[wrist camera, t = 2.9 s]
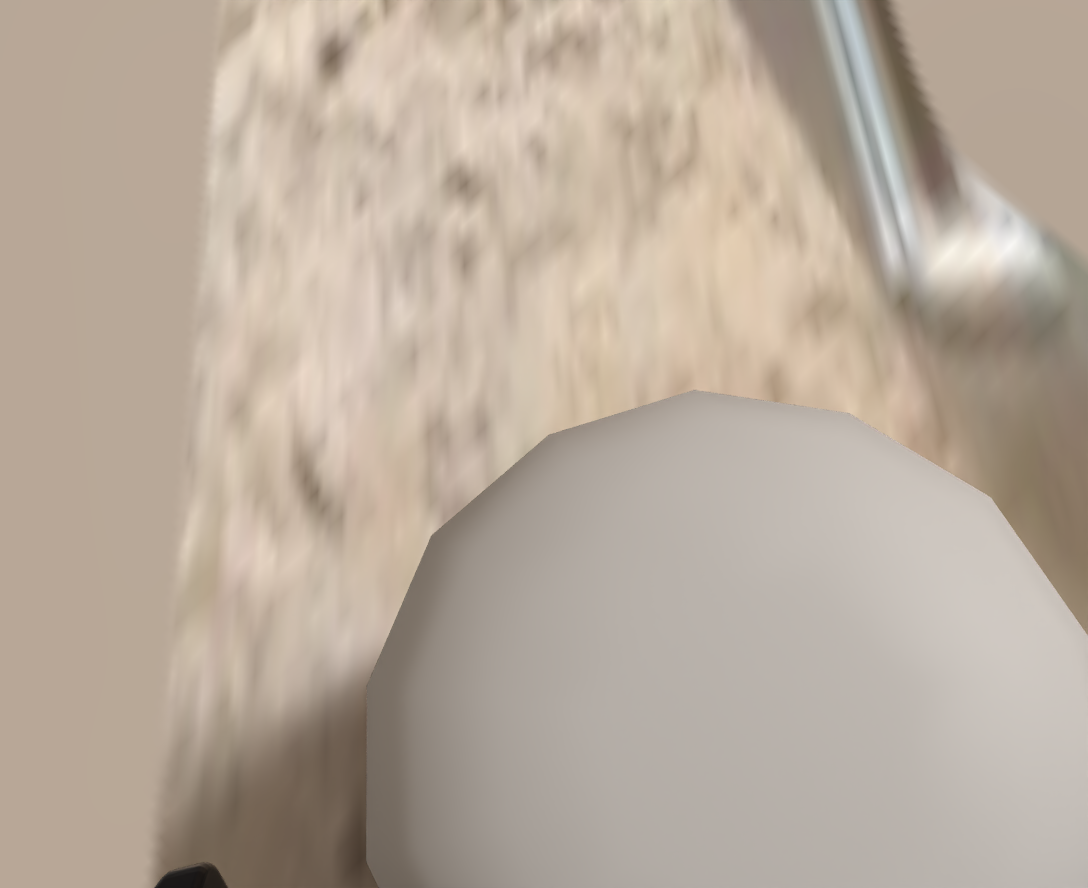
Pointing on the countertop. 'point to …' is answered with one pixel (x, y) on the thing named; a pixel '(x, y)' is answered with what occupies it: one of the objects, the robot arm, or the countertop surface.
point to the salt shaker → (728, 671)
